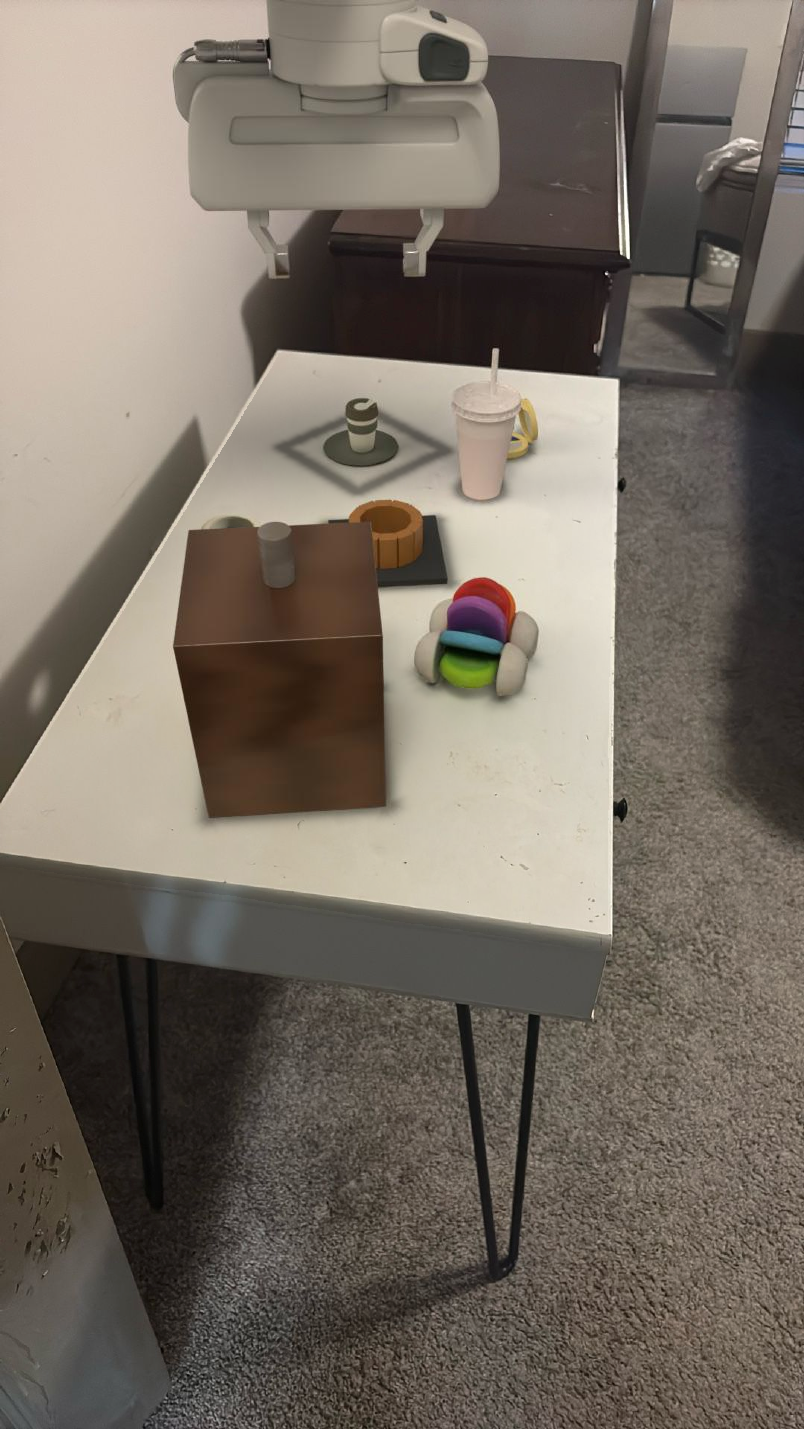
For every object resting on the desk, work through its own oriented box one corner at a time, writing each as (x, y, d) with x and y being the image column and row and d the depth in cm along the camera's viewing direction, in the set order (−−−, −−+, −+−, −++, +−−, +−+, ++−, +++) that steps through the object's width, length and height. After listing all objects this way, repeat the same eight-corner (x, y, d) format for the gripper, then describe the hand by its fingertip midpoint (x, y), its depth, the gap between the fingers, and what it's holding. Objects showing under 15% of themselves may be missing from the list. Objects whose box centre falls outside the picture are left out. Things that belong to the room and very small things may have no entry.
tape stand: (208, 818, 67) (162, 596, 54) (217, 697, 76) (180, 482, 63) (386, 807, 68) (381, 586, 55) (375, 688, 77) (369, 474, 64)
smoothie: (516, 507, 95) (528, 365, 85) (448, 507, 95) (453, 365, 85) (512, 473, 100) (523, 334, 90) (447, 472, 100) (452, 334, 90)
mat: (331, 589, 86) (331, 583, 85) (328, 525, 93) (328, 519, 93) (447, 583, 86) (447, 577, 86) (435, 520, 94) (435, 514, 93)
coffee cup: (282, 447, 104) (277, 402, 100) (369, 410, 109) (367, 366, 106) (357, 492, 97) (355, 445, 94) (445, 450, 103) (447, 405, 100)
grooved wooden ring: (351, 570, 87) (350, 541, 85) (348, 529, 91) (347, 501, 89) (425, 567, 87) (425, 537, 85) (418, 526, 92) (418, 497, 90)
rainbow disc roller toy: (541, 639, 81) (550, 564, 76) (514, 718, 74) (522, 642, 69) (441, 619, 83) (443, 545, 78) (405, 694, 76) (405, 619, 71)
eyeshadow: (479, 440, 104) (482, 395, 101) (524, 434, 105) (528, 390, 102) (492, 460, 101) (495, 415, 98) (539, 454, 102) (543, 409, 99)
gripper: (163, 49, 57) (194, 294, 67) (514, 50, 59) (495, 289, 68) (172, 29, 62) (199, 261, 72) (498, 30, 64) (482, 257, 73)
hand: (346, 274), depth 70 cm, fingers open, 8 cm apart
